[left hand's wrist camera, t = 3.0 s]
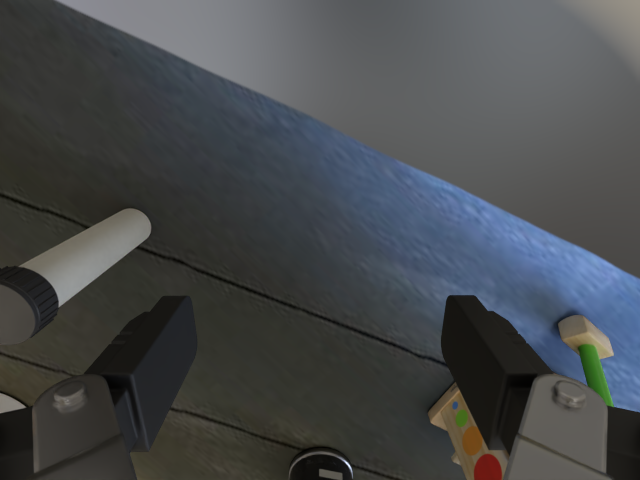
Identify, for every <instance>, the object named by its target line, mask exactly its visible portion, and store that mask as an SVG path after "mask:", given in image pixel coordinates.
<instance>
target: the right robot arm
mask: <svg viewBox="0 0 640 480" xmlns="http://www.w3.org/2000/svg"><path fill="white" fill-rule="evenodd" d="M22 408H26V406H24V405H23V404H21V403H20V402H18V401H17V400H15V399H13V398H11V397H9V396H7V395H4V394H2V393H0V413H4V412H8V411H13V410H17V409H22Z"/></svg>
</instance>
